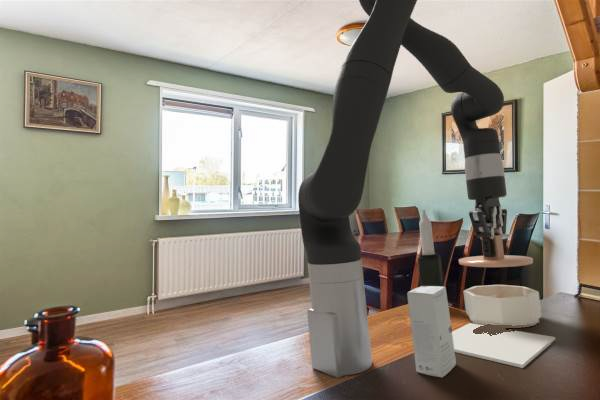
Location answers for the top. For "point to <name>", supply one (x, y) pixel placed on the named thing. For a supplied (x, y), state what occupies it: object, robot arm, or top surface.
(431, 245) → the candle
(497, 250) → the lid
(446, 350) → the skincare box
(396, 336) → the top surface
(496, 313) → the bowl
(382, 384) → the top surface
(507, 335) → the mat
